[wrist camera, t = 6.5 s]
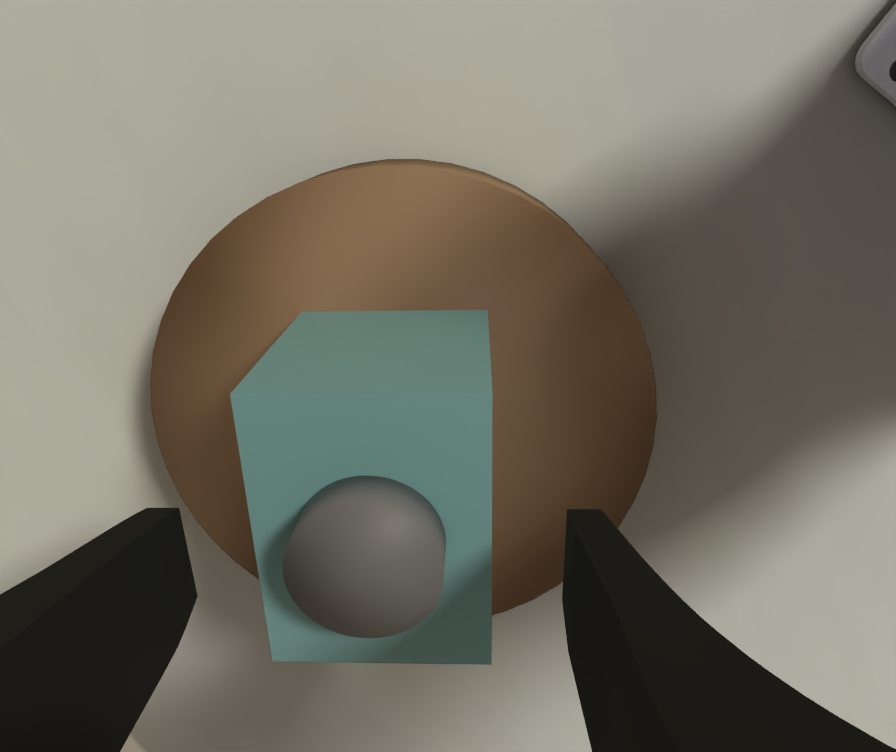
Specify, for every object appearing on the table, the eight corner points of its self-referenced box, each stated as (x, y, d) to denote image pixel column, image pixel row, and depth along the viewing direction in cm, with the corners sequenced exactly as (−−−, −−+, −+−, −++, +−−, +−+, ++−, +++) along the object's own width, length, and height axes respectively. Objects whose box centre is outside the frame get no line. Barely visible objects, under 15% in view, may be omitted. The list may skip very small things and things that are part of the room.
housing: (487, 309, 16) (493, 418, 10) (487, 521, 18) (492, 705, 12) (301, 311, 16) (208, 419, 10) (324, 520, 18) (257, 701, 13)
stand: (730, 335, 18) (767, 367, 16) (469, 632, 23) (468, 692, 20) (326, 50, 16) (301, 40, 14) (121, 441, 20) (75, 483, 18)
